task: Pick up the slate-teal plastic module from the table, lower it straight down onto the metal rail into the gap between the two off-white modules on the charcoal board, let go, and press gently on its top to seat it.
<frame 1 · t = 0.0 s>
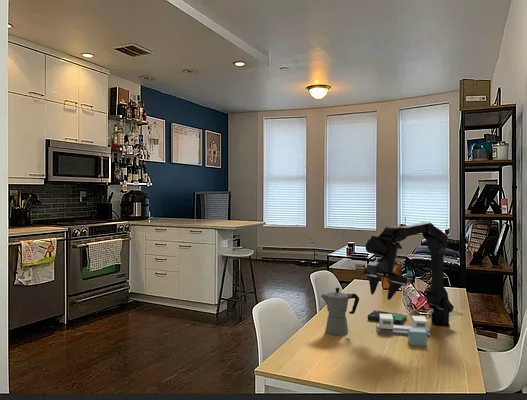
hand: (380, 296, 172), 15 cm above the table, tool pointing down, fingers open, 9 cm apart
coffeepot: (339, 332, 177), on the table
din board: (402, 331, 179), on the table
disk drive: (387, 321, 195), on the table
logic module: (417, 343, 165), on the table
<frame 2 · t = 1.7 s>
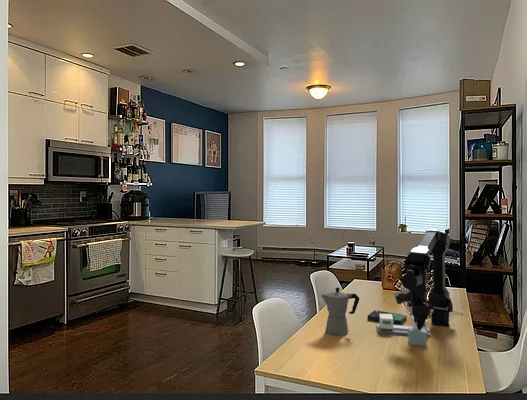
hand: (417, 326, 165), 6 cm above the table, tool pointing down, fingers open, 9 cm apart
nothing on the table moved.
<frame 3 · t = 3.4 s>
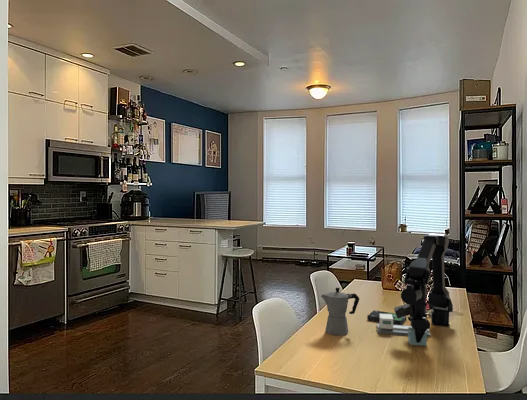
hand: (417, 340, 165), 1 cm above the table, tool pointing down, fingers closed on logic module, 5 cm apart
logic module: (417, 343, 165), on the table, touching gripper
everything else where it was.
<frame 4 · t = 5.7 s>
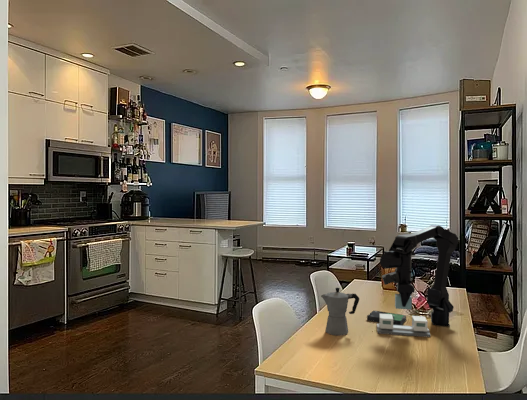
hand: (403, 305, 179), 11 cm above the table, tool pointing down, fingers closed on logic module, 5 cm apart
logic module: (403, 307, 179), point 10 cm above the table, touching gripper
everything else where it was.
when the fingers open (4 cm above the table, at t = 8.0 s): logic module stays where it is, resting on din board.
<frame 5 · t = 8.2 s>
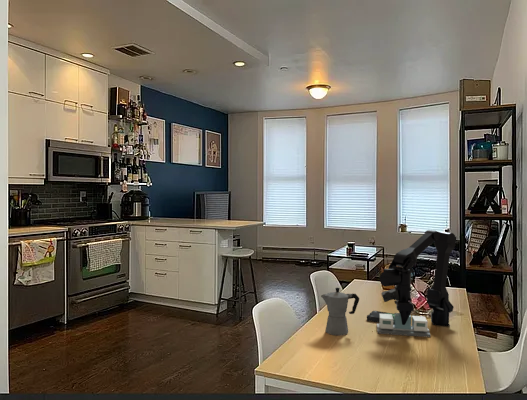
hand: (402, 322, 179), 4 cm above the table, tool pointing down, fingers open, 6 cm apart
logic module: (402, 327, 179), point 2 cm above the table, touching din board
everything else where it was.
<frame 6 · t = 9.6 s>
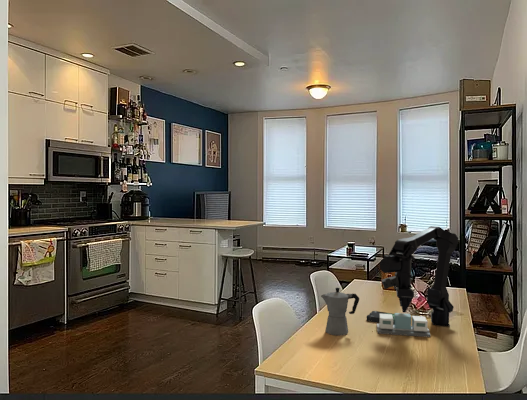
hand: (402, 309, 179), 9 cm above the table, tool pointing down, fingers open, 9 cm apart
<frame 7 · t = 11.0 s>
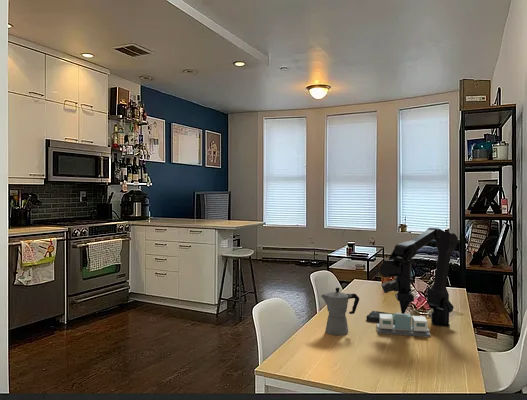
hand: (402, 313, 179), 7 cm above the table, tool pointing down, fingers closed
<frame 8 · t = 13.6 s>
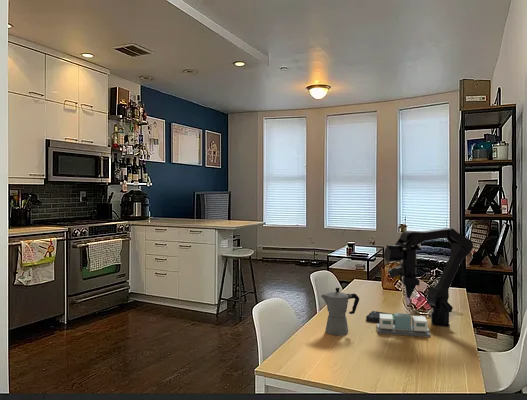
hand: (408, 297, 186), 12 cm above the table, tool pointing down, fingers closed
at the end: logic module 0.0 cm off-centre on the din board, point 1.7 cm above the din board's base; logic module tilted 0°; the gripper is holding nothing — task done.
